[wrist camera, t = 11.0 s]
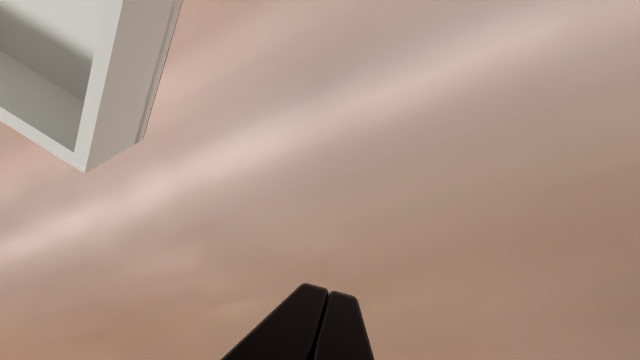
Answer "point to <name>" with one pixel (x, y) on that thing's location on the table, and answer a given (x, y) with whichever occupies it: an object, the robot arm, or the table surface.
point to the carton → (82, 72)
